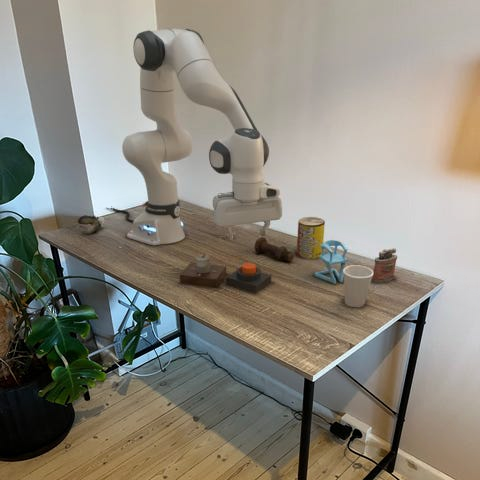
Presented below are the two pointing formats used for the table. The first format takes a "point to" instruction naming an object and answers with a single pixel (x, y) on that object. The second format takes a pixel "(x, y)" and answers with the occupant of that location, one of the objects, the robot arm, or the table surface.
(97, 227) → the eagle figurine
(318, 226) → the beverage can
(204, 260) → the knob
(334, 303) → the table surface
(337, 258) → the chair
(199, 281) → the dial base
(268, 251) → the bolt
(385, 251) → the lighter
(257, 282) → the button box
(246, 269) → the button
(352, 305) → the dixie cup
